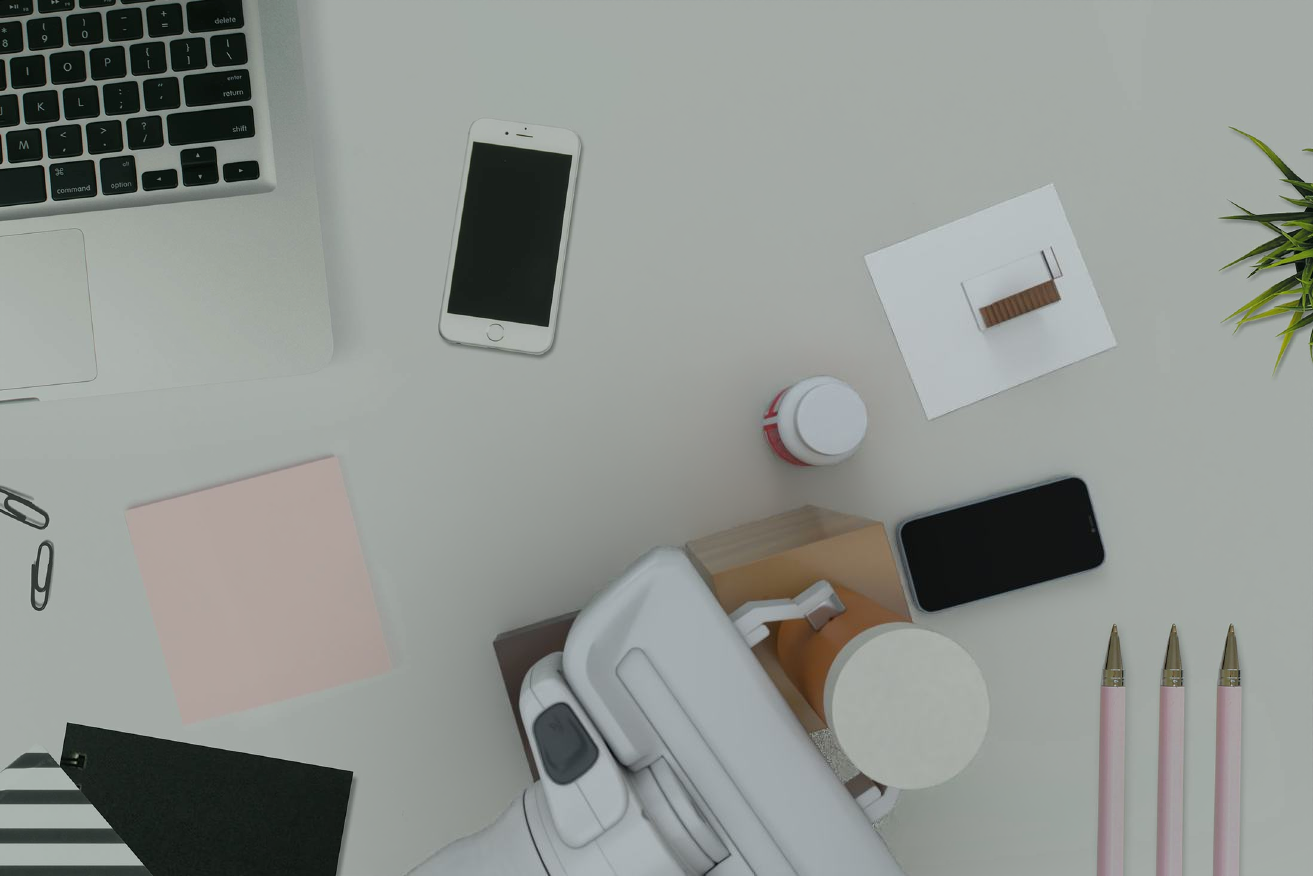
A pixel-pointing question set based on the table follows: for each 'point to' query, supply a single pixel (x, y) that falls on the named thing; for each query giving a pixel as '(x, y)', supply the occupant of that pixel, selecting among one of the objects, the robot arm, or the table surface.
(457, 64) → the table surface
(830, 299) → the table surface
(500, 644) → the walnut block
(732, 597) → the oak stand
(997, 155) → the table surface
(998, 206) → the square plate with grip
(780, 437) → the pill bottle
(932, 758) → the amber bottle
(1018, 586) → the smartphone
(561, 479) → the table surface
